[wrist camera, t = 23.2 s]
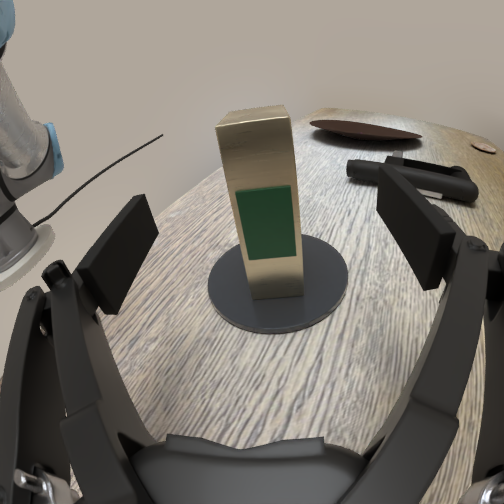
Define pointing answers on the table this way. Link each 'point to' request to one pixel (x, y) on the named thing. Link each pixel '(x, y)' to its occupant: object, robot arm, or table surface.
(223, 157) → the tea tin
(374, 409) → the table surface
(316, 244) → the coaster
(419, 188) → the door handle
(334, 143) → the table surface
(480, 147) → the flatbread
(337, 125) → the plate
